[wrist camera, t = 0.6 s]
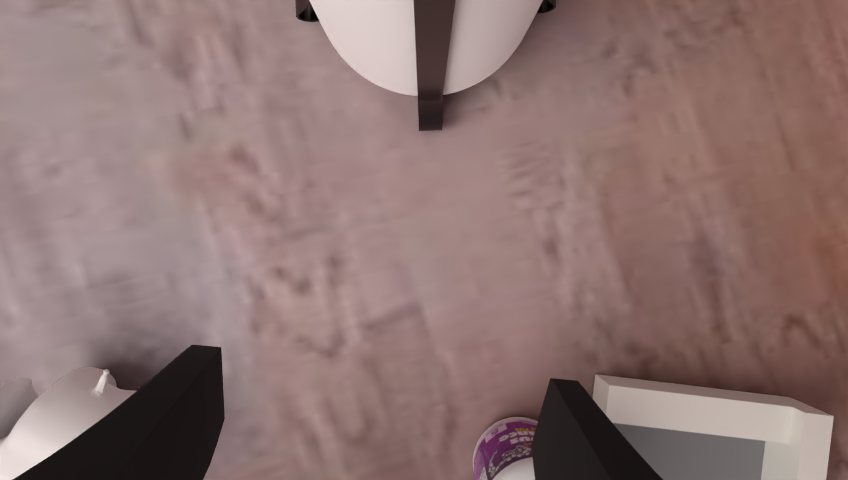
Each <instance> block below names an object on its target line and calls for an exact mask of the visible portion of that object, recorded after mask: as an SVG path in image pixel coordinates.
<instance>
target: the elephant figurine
mask: <svg viewBox="0 0 848 480" xmlns="http://www.w3.org/2000/svg"><path fill="white" fill-rule="evenodd" d="M136 391H137V390H122V389H119V388H117V385H116V380H115V379H114V377H113V376H112V375H110V374H109V370H108V369H105V370H102V369H99V368H95V367H84V368H79V369H76V370H74V371H72V372H70V373H68V374H66V375H65V376H63V377H62V378H60V379H59V380H58V381H57V382H56V383H54V384H53V385H52V386H51V387H50V388H48V389H47V390H46V391H45V392H44V393H42V394H41V395H40V396H38V394H37V392H36V391H35V389H34V388H33V387H32V380H31V379H27V378H12V379H9V380H7V381H6V382H5V383H4V385H3V386H2V387H1V388H0V480H12V479H14V478H16V477H17V476H19V475H21V474H22V473H24V472H25V471H27V470H29V469H30V468H32V467H33V466H35V465H37V464H38V463H40V462H41V461H43V460H44V459H46V458H47V457H49V456H50V455H52V454H53V453H55V452H56V451H58V450H59V449H61V448H62V447H64V446H65V445H66V444H68V443H69V442H71V441H72V440H73V439H75V438H76V437H78V436H79V435H80V434H82V433H83V432H84V431H86V430H87V429H88V428H90V427H91V426H92V425H94V424H95V423H97V422H98V421H99V420H101V419H102V418H103V417H105V416H106V415H107V414H109V413H110V412H111V411H112V410H114V409H115V408H116V407H117V406H119V405H120V404H121V403H122V402H124V401H125V400H126V399H127V398H129V397H130V396H131V395H132V394H134V393H135V392H136Z"/></svg>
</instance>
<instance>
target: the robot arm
mask: <svg viewBox="0 0 848 480" xmlns="http://www.w3.org/2000/svg"><path fill="white" fill-rule="evenodd" d="M224 419H225V418H224V397H223V376H222V354H221V347H212V346H201V345H191V346H190V347H189V348H187V349H186V350H185V351H184V352H182V353H181V354H180V355H179V356H178V357H176V358H175V359H174V360H173V361H172V362H171V363H169V364H168V365H167V366H166V367H165V368H164V369H162V370H161V371H160V372H159V373H158V374H157V375H155V376H154V377H153V378H152V379H151V380H149V381H148V382H147V383H146V384H145V385H143V386H142V387H141V388H140V389H139V390H137V391H136V392H135V393H134V394H132V395H131V396H130V397H129V398H127V399H126V400H125V401H124V402H122V403H121V404H120V405H119V406H117V407H116V408H115V409H114V410H112V411H111V412H110V413H109V414H107V415H106V416H105V417H103V418H102V419H101V420H99V421H98V422H97V423H95V424H94V425H92V426H91V427H90V428H88V429H87V430H86V431H84V432H83V433H82V434H80V435H79V436H78V437H76V438H75V439H73V440H72V441H71V442H69V443H68V444H66V445H65V446H64V447H62V448H61V449H59V450H58V451H56V452H55V453H53V454H52V455H50V456H49V457H47V458H46V459H44V460H43V461H41V462H40V463H38V464H37V465H35V466H33V467H32V468H30V469H29V470H27V471H25V472H24V473H22V474H21V475H19V476H17V477H16V478H14V479H12V480H203V478H204V476H205V474H206V472H207V470H208V467H209V465H210V463H211V460H212V457H213V454H214V451H215V448H216V445H217V442H218V438H219V435H220V432H221V429H222V426H223V422H224ZM531 449H532V458H533V466H534V474H535V480H663V479H662V478H661V477H660V476H659V475H658V474H657V473H656V472H655V471H654V470H653V469H652V467H651V466H650V465H649V464H648V463H647V462H646V461H645V460H644V459H643V458H642V457H641V455H640V454H639V453H638V452H637V451H636V450H635V449H634V448H633V446H632V445H631V444H630V443H629V442H628V441H627V439H626V438H625V437H624V436H623V435H622V434H621V432H620V431H619V430H618V429H617V428H616V427H615V425H614V424H613V423H612V422H611V421H610V419H609V418H608V417H607V416H606V415H605V413H604V412H603V411H602V410H601V409H600V407H599V406H598V405H597V404H596V402H595V401H594V400H593V399H592V398H591V396H590V395H589V394H588V393H587V392H586V390H585V389H584V388H583V387H582V386H581V384H580V383H579V382H578V381H574V380H563V379H552V378H551V379H550V382H549V385H548V389H547V392H546V396H545V399H544V403H543V406H542V409H541V413H540V416H539V420H538V423H537V427H536V430H535V433H534V437H533V440H532V444H531Z"/></svg>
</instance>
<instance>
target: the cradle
mask: <svg viewBox="0 0 848 480" xmlns="http://www.w3.org/2000/svg"><path fill="white" fill-rule="evenodd" d="M592 399H593V400H594V401H595V402H596V404H597V405H598V406H599V407H600V409H601V410H602V411H603V412H604V413H605V415H606V416H607V417H608V418H609V419H610V421H611V422H612V423H613V424H614V425H615V427H616V428H617V429H618V430H619V431H620V432H621V434H622V435H623V436H624V437H625V438H626V439H627V441H628V442H629V443H630V444H631V445H632V446H633V448H634V449H635V450H636V451H637V452H638V453H639V454H640V455H641V457H642V458H643V459H644V460H645V461H646V462H647V463H648V464H649V465H650V466H651V467H652V469H653V470H654V471H655V472H656V473H657V474H658V475H659V476H660V477H661V478H662V479H663V480H826V476H827V468H828V459H829V451H830V443H831V435H832V426H833V418H834V416H832V415H830V414H827V413H825V412H823V411H821V410H818V409H816V408H814V407H811V406H809V405H807V404H804V403H802V402H800V401H797V400H795V399H793V398H791V397H784V396H776V395H767V394H759V393H750V392H742V391H734V390H725V389H717V388H708V387H700V386H692V385H683V384H675V383H666V382H658V381H649V380H641V379H633V378H624V377H616V376H607V375H599V374H595V381H594V389H593V398H592Z"/></svg>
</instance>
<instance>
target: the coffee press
mask: <svg viewBox="0 0 848 480" xmlns="http://www.w3.org/2000/svg"><path fill="white" fill-rule="evenodd" d="M555 7H556V0H296V17H297V18H298V19H299V20H302V21H306V22H316V21H320V23H321V25H322V27H323V29H324V31H325V33H326V35H327V36H328V38H329V40H330V42H331V43H332V45H333V46H334V48H335V49H336V51H337V52H338V53H339V54H340V56H341V57H342V58H343V59H344V60H345V61H346V62H347V63H348V64H349V65H350V66H351V67H352V68H353V69H354V70H355V71H356V72H358V73H359V74H360V75H362V76H363V77H364V78H366V79H367V80H369V81H371V82H372V83H374V84H376V85H378V86H380V87H383V88H385V89H388V90H390V91H393V92H397V93H401V94H405V95H412V96H418V115H419V131H433V130H442V100H443V95H446V94H451V93H455V92H458V91H461V90H464V89H467V88H469V87H471V86H473V85H475V84H477V83H479V82H481V81H483V80H484V79H486V78H487V77H489V76H490V75H491V74H493V73H494V72H495V71H496V70H498V69H499V68H500V67H501V66H502V65H503V64H504V63H505V62H506V61H507V60H508V59H509V58H510V56H511V55H512V54H513V53H514V51H515V50H516V48H517V47H518V46H519V44H520V42H521V41H522V39H523V37H524V36H525V34H526V32H527V30H528V28H529V26H530V25H531V23H532V21H533V19H534V17H535V15H536V13H545V12H549V11H551V10H553V9H554V8H555Z"/></svg>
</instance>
